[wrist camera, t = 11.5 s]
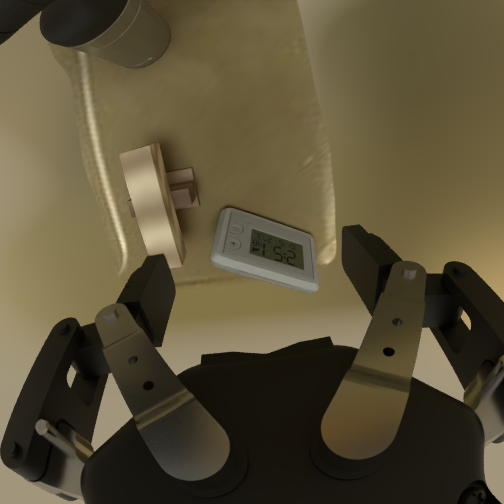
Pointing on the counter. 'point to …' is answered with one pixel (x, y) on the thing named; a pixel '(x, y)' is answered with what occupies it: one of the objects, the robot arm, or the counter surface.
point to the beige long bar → (153, 203)
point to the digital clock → (265, 251)
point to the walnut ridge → (179, 190)
